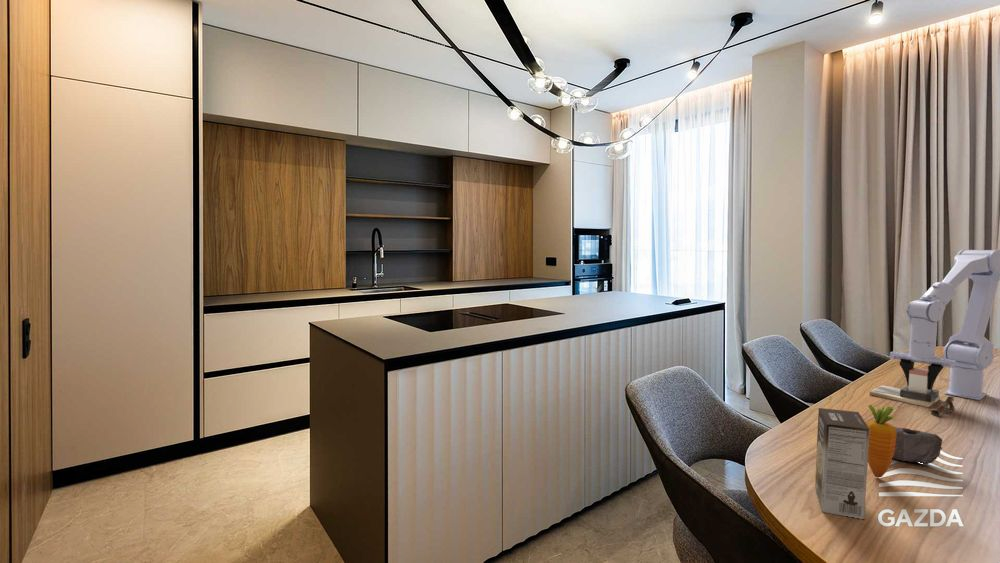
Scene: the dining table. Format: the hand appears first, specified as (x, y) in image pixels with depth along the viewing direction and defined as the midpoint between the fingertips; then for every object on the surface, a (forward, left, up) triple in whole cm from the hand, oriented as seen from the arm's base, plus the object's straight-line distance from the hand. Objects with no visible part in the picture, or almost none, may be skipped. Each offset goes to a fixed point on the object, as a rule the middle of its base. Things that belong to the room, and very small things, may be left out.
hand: (919, 387), depth 144 cm
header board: (0, -3, -4) cm, 5 cm away
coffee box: (+84, +8, -4) cm, 84 cm away
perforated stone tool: (+53, +8, -4) cm, 54 cm away
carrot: (+67, +9, -4) cm, 68 cm away
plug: (0, 0, -3) cm, 3 cm away
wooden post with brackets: (+9, +7, -4) cm, 12 cm away
